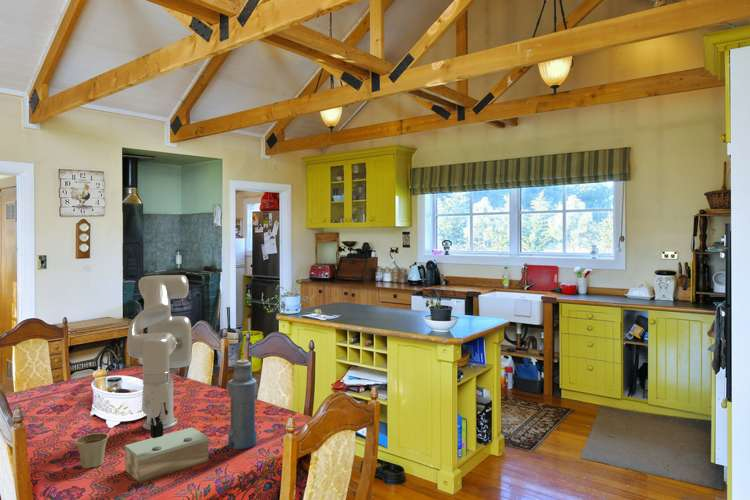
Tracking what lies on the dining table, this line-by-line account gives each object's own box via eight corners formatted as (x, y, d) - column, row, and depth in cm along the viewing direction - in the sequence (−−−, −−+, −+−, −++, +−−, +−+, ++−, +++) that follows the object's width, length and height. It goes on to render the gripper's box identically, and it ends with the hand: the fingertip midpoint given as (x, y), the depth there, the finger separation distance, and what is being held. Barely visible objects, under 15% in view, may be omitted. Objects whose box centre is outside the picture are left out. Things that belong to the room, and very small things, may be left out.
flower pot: (84, 458, 171) (84, 433, 171) (113, 457, 172) (113, 432, 172) (70, 471, 162) (69, 444, 161) (101, 470, 162) (100, 443, 162)
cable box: (125, 470, 162) (125, 448, 162) (192, 450, 178) (191, 430, 178) (139, 483, 154) (139, 460, 154) (208, 460, 169) (208, 439, 169)
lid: (125, 448, 162) (124, 444, 162) (191, 430, 178) (191, 426, 178) (139, 460, 153) (139, 456, 153) (208, 440, 169) (208, 436, 169)
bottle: (227, 441, 185) (226, 358, 185) (254, 437, 189) (254, 356, 188) (230, 451, 176) (229, 364, 176) (259, 447, 180) (258, 362, 179)
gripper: (134, 375, 161) (135, 433, 162) (153, 385, 151) (154, 447, 151) (158, 371, 167) (159, 427, 167) (178, 380, 156) (179, 439, 156)
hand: (156, 436), depth 159 cm, fingers closed
